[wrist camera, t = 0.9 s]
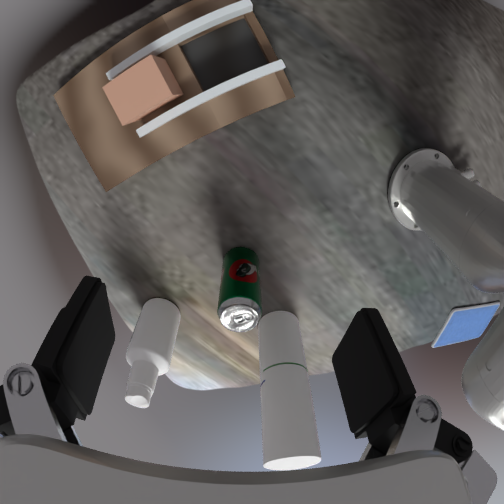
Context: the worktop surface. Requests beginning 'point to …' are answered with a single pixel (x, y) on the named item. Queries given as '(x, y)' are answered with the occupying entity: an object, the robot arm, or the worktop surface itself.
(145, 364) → the white bottle
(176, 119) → the board
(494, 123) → the worktop surface
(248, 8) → the channel
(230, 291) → the soda can
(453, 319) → the tablet computer
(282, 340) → the cylindrical container
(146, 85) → the block
